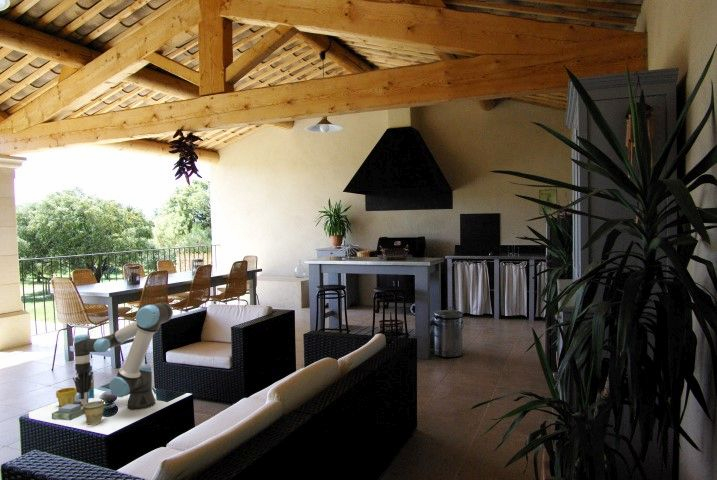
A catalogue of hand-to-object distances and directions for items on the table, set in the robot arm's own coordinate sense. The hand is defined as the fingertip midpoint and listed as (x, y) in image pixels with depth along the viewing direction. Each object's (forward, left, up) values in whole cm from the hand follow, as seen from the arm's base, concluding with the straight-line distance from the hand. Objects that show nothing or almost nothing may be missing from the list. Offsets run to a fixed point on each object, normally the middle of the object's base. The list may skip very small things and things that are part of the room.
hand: (84, 403), depth 273 cm
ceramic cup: (-19, +13, -5) cm, 23 cm away
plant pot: (+18, -6, -5) cm, 19 cm away
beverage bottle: (+17, -20, -5) cm, 26 cm away
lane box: (+1, +3, -4) cm, 5 cm away
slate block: (+1, +10, -3) cm, 10 cm away
